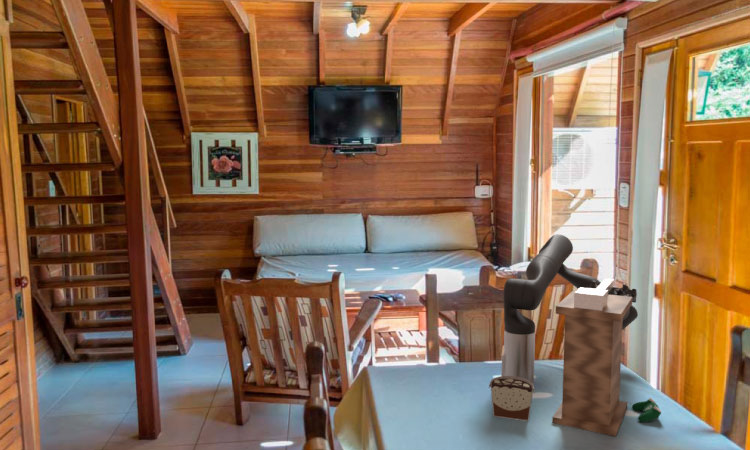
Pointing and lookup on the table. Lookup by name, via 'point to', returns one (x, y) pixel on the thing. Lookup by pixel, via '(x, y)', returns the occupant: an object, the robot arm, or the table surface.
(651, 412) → the gaming controller
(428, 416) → the table surface
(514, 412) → the food container
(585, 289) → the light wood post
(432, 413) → the table surface
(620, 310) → the stand
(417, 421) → the table surface
